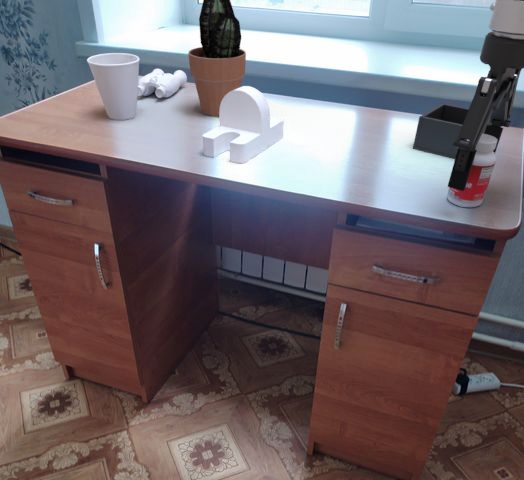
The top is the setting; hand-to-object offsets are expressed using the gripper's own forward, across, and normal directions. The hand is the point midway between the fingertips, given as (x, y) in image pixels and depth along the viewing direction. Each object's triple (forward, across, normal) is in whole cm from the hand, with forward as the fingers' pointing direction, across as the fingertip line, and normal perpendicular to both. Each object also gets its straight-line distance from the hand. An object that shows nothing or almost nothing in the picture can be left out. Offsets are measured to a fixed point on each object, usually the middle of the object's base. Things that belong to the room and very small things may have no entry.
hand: (470, 175), depth 88 cm
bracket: (+5, +3, -48) cm, 48 cm away
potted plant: (+5, -12, -68) cm, 69 cm away
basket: (+5, -25, -12) cm, 28 cm away
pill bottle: (+5, 0, 0) cm, 5 cm away
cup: (+6, +6, -84) cm, 84 cm away
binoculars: (+6, -14, -91) cm, 92 cm away
